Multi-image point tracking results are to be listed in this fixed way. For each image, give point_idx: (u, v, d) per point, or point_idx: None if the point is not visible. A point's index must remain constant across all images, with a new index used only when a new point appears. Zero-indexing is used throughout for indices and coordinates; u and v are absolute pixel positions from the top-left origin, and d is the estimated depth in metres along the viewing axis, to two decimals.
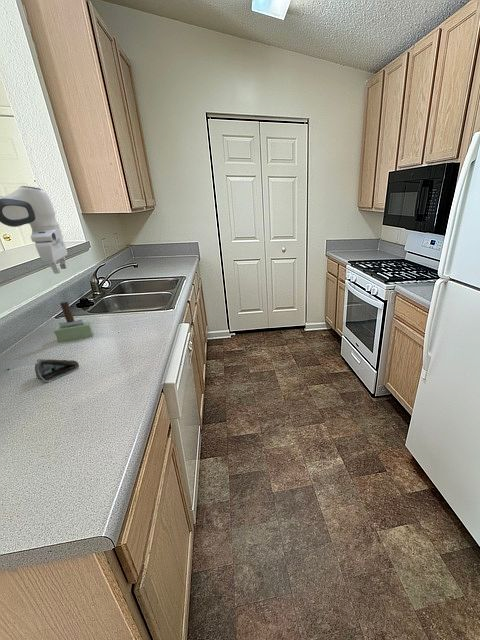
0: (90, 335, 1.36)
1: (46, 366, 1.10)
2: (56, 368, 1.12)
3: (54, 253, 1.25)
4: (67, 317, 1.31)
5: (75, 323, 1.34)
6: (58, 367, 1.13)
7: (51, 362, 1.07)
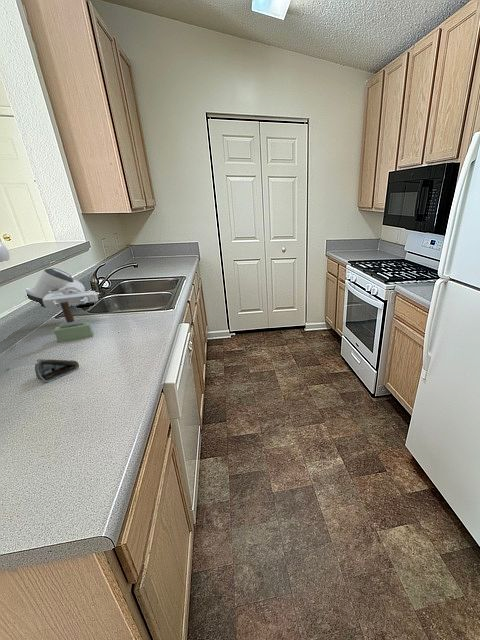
0: (90, 335, 1.36)
1: (46, 366, 1.10)
2: (56, 368, 1.12)
3: (54, 297, 1.43)
4: (67, 317, 1.31)
5: (75, 323, 1.34)
6: (58, 367, 1.13)
7: (51, 362, 1.07)
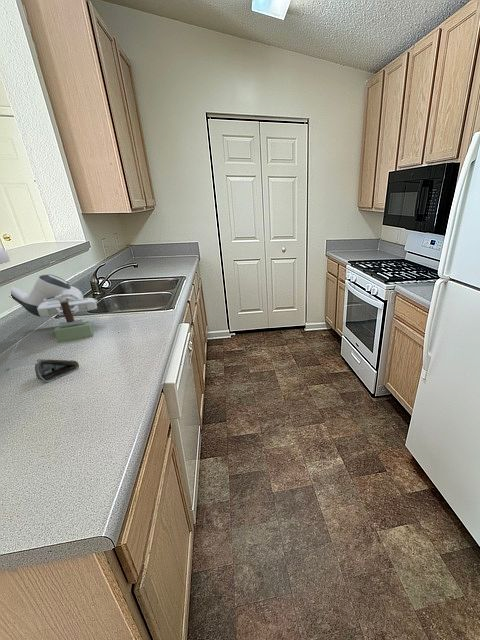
0: (90, 335, 1.36)
1: (46, 366, 1.10)
2: (56, 368, 1.12)
3: (50, 305, 1.33)
4: (67, 317, 1.31)
5: (75, 323, 1.34)
6: (58, 367, 1.13)
7: (51, 362, 1.07)
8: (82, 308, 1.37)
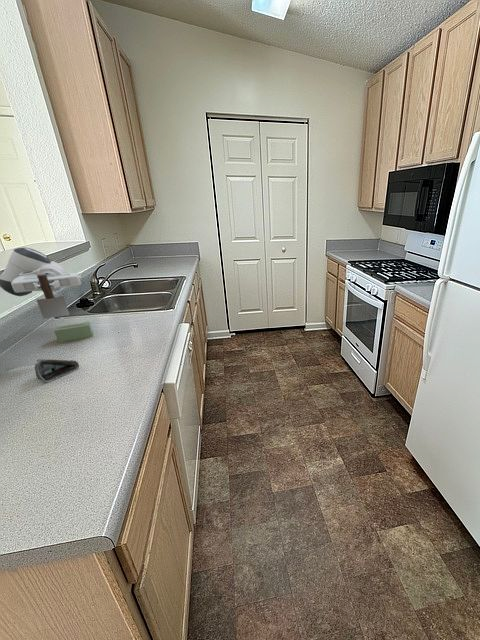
0: (90, 335, 1.36)
1: (46, 366, 1.10)
2: (56, 368, 1.12)
3: (26, 279, 1.17)
4: (46, 293, 1.15)
5: (55, 300, 1.18)
6: (58, 367, 1.13)
7: (51, 362, 1.07)
8: (63, 284, 1.21)
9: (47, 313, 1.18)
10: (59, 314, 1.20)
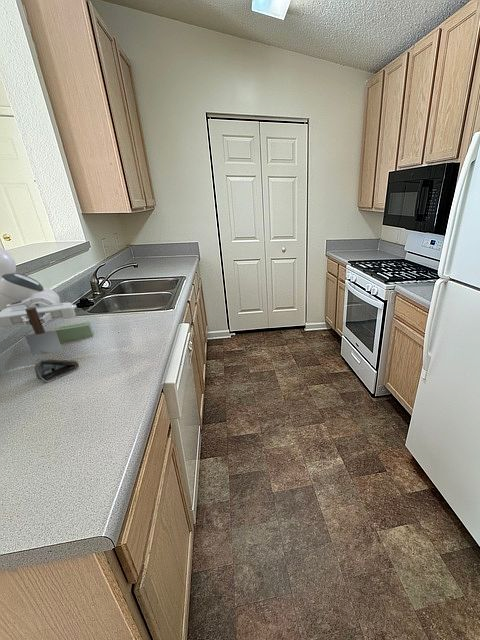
0: (90, 335, 1.36)
1: (46, 366, 1.10)
2: (56, 368, 1.12)
3: (14, 312, 1.04)
4: (35, 328, 1.02)
5: (46, 335, 1.05)
6: (58, 367, 1.13)
7: (51, 362, 1.07)
8: (56, 316, 1.08)
9: (37, 349, 1.05)
10: (50, 350, 1.07)
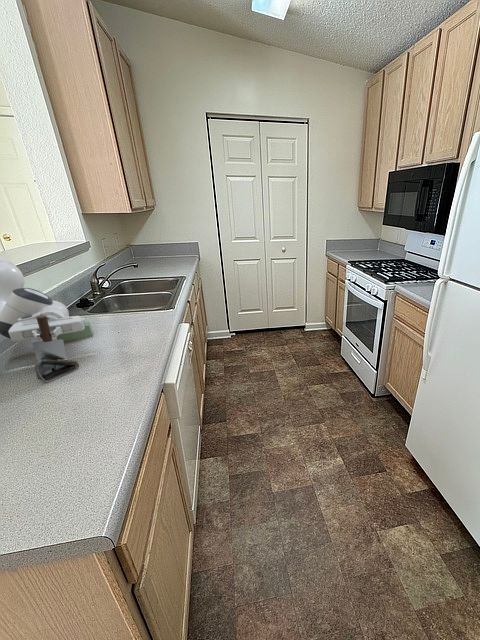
0: (90, 335, 1.36)
1: (46, 366, 1.10)
2: (56, 368, 1.12)
3: (25, 326, 1.07)
4: (43, 335, 1.04)
5: (53, 343, 1.07)
6: (58, 367, 1.13)
7: (51, 362, 1.07)
8: (65, 329, 1.11)
9: (42, 356, 1.07)
10: (55, 358, 1.09)
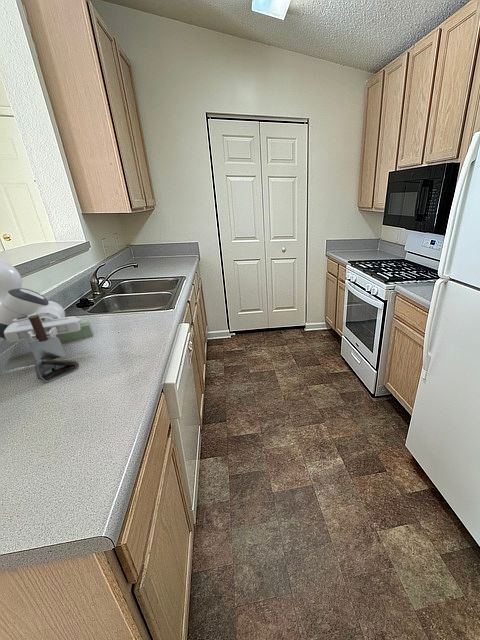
0: (90, 335, 1.36)
1: (46, 366, 1.10)
2: (56, 368, 1.12)
3: (20, 327, 1.07)
4: (39, 335, 1.03)
5: (50, 342, 1.06)
6: (58, 367, 1.13)
7: (51, 362, 1.07)
8: (61, 330, 1.10)
9: (41, 356, 1.07)
10: (54, 356, 1.09)
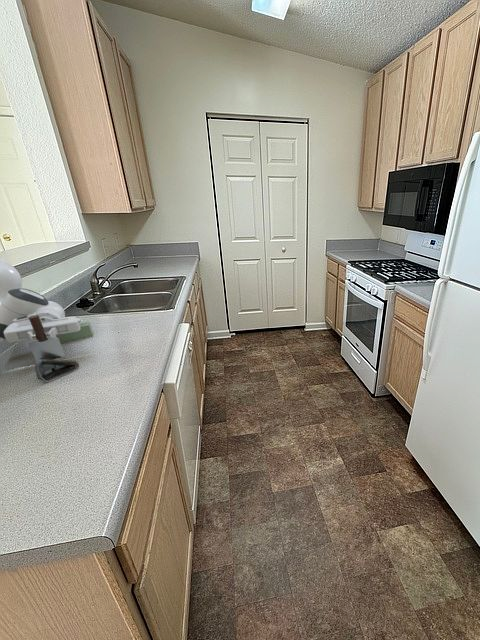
0: (90, 335, 1.36)
1: (46, 366, 1.10)
2: (56, 368, 1.12)
3: (20, 327, 1.07)
4: (38, 335, 1.03)
5: (49, 342, 1.06)
6: (58, 367, 1.13)
7: (51, 362, 1.07)
8: (61, 330, 1.10)
9: (40, 356, 1.07)
10: (54, 357, 1.09)
